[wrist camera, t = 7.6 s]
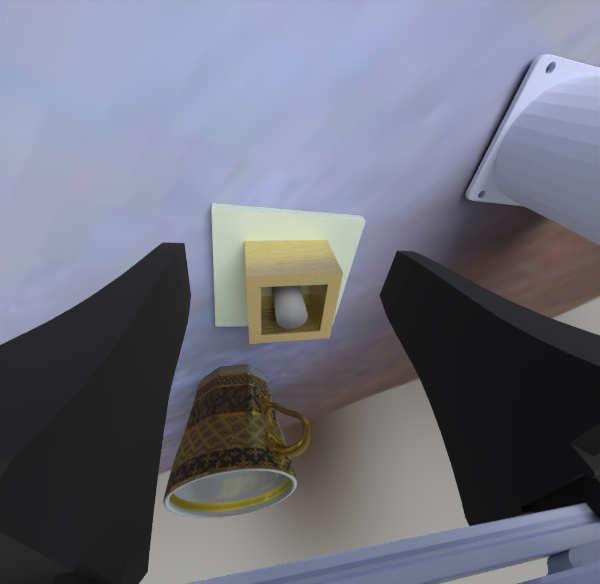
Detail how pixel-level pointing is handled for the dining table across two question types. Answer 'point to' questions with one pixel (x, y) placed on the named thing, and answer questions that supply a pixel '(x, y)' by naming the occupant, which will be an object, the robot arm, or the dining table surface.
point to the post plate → (265, 227)
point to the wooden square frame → (291, 272)
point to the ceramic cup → (233, 449)
